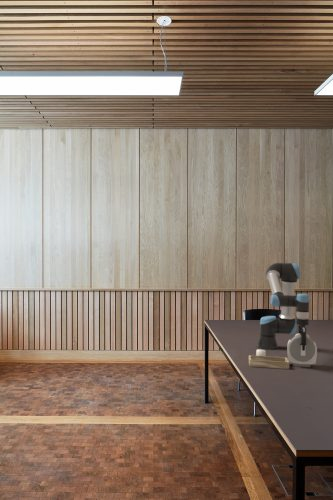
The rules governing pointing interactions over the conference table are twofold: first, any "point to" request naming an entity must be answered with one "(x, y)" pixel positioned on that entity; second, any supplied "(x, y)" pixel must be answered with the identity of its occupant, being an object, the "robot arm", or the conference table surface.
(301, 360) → the alarm clock
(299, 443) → the conference table surface
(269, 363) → the tray
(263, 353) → the white rounded cylinder
